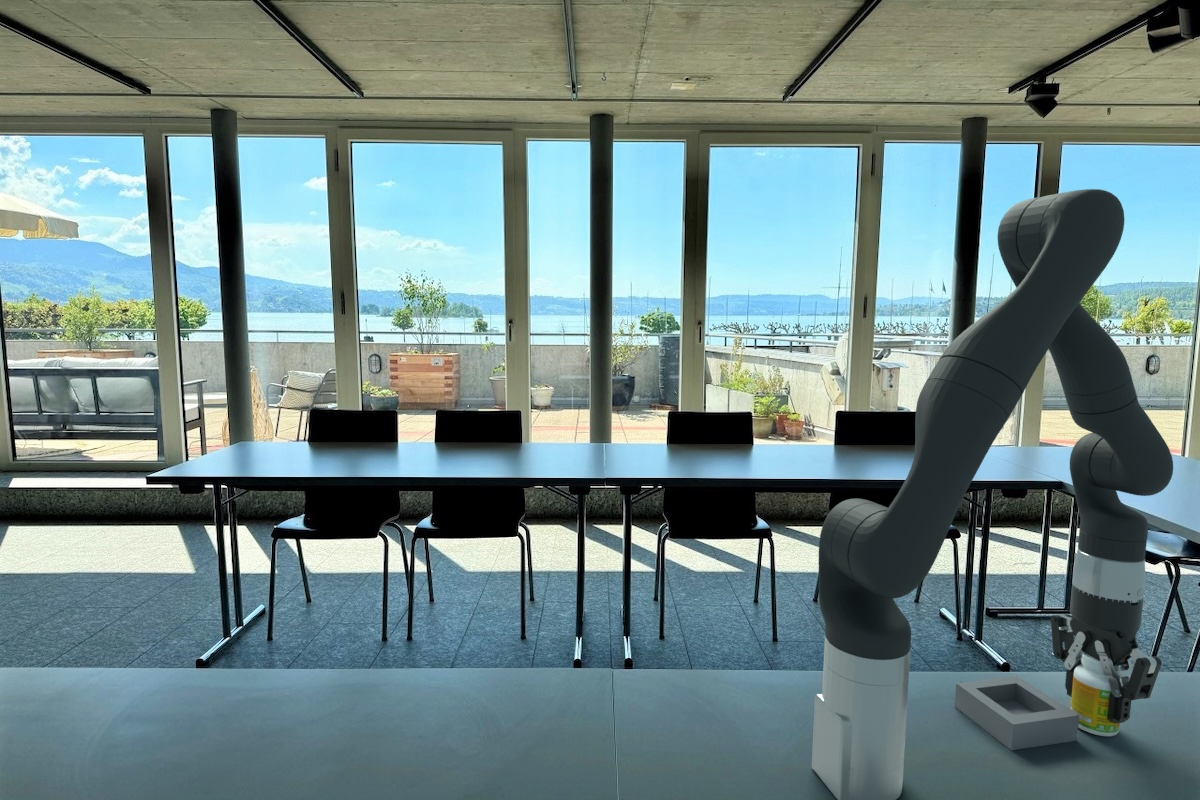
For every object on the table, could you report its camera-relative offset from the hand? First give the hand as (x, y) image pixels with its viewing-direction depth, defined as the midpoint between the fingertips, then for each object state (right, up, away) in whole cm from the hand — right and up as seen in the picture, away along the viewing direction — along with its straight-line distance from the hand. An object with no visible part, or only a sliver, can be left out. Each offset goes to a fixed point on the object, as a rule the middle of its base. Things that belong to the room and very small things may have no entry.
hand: (1095, 708), depth 91 cm
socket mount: (-10, -3, +1) cm, 11 cm away
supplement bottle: (0, -3, 0) cm, 3 cm away
